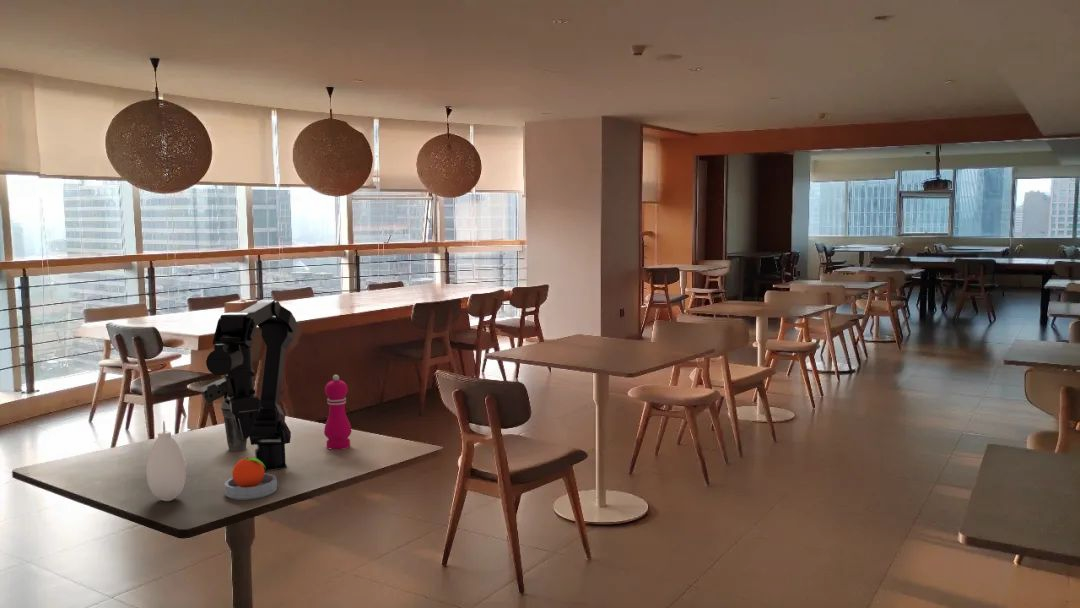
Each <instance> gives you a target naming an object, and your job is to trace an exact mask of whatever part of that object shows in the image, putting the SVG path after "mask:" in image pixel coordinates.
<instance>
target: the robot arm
mask: <svg viewBox="0 0 1080 608" xmlns="http://www.w3.org/2000/svg"><path fill="white" fill-rule="evenodd" d="M257 327H258V328H259V330H260V336H261V338H262V341H263V343H264V345H265V357H264V365H263V374H262V383H261V390H260V398H259V397H258V396H257V395H256V389H255V387H254V377H255V371H254V369H253V366H254V365H253V351H252V350H253V349H252V345H254V344H255V343H254V342H255V341H254V340H253V339H254V336H255V334H256V332H257ZM297 327H298V324H297V320H296V318H295V316H294V314H293V313H292V312H291V311H290V310H289V309H287V308H286V307H284V306H282V305H281V303H280V301H278V300H276V299H260V300H258V301H256V302H255V303H253V304H252V305H250V306H248V307H246V308H245V309H243V310H241V311H227V312H223V313H222V314H221V315H220V317H218V320H217V323H216V327H215V331H214V336H213V339H212V345H213V347H214V350H213V351H211V352H210V353H209V354H208V356H207V357H206V361H205V365H206V368H207V370H208V371H209V372H210V373H211V374H212V375H214V376H219V377H222V376H223V378H221V379H218V380H214V381H213V382H211V383H209V384H206V385H203V386H202V387H200V388H199V390H200V392H201V394H202V395H201V396H202V397H203V398H204V401H205V402H206V405H207V404H212V403H213V402H214V401H216V400H218V399H220V398H223V400H224V401H225V402H226V403H227V404H228V405H230V411H231V413H232V414H233V415H234V417H235V421H236V424H237V428H238V429H241V432H242V436H243V438H244V439H247V440H248V439H249V440H250V441H249V443H250V445H251V446H254V445H255V446H256V447H257V448H255V450H254V453H255V454H254V455H255V457H254V458H256V459H258V460H260V461H261V462H263V464H264V465H265V467H264V466H263V467H264V472H265V471H273V470H280V469H287V468H288V465H287V463H286V445H287V444H290V443H291V438H292V431H291V430H290V428H289V426H288V424H287V422H286V415H285V413H284V411H283V409H282V407H281V397H282V396H281V395H282V386H283V379H284V378H283V376H284V367H285V359H286V351H287V349H288V348H289V346H290V345H291V344H292V342H293V341H294V337H295V333H296V331H297ZM227 397H228V398H227ZM226 398H227V399H226ZM265 468H266V469H265Z"/></svg>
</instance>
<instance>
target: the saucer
mask: <svg viewBox="0 0 1080 608" xmlns="http://www.w3.org/2000/svg"><path fill="white" fill-rule="evenodd" d="M277 487H278V479H277V477H276V475H275V474H271V473H267V472H264V477H263V479H262V481H261V482H260V483H259V484H258V485H257V486H255V487H248V488H244V487H240V486H238V485H237V484H236V483H235V481H234V480H233V477H231V478H229V479H228V480H226V481H225V482H224V491H225V497H226V498H228V499H231V500H236V501H237V500H238V501H248V500H256V499H262V498H264V497H268V496H271V495H273V494H274V493H275V492H276V491H277Z"/></svg>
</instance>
